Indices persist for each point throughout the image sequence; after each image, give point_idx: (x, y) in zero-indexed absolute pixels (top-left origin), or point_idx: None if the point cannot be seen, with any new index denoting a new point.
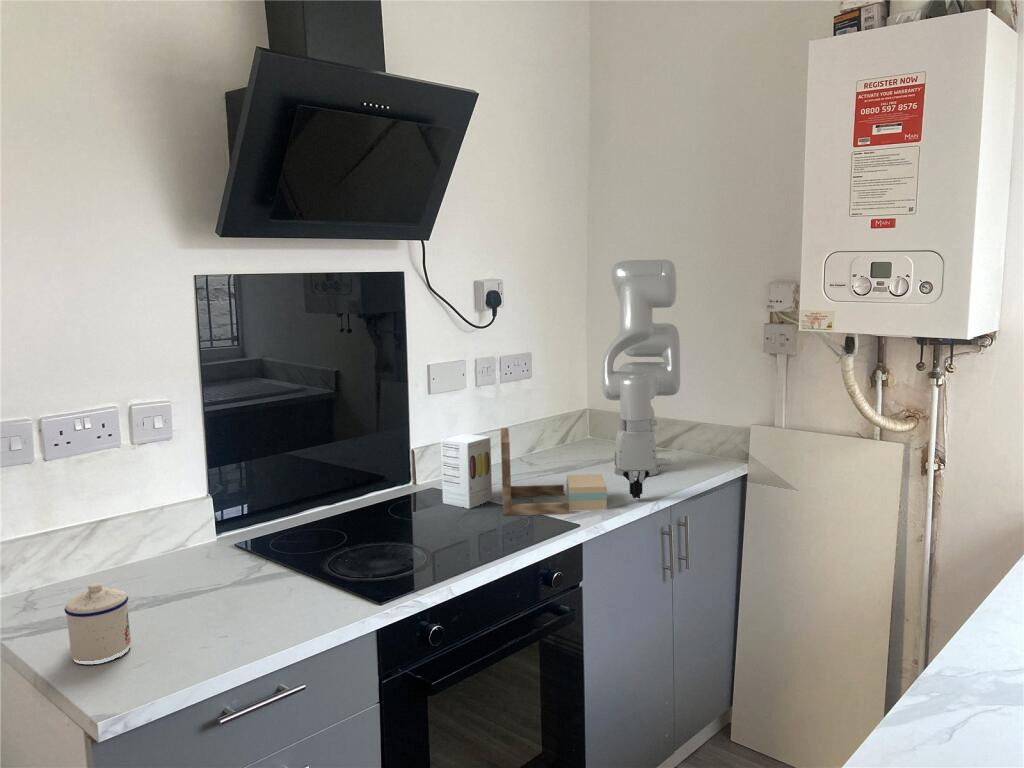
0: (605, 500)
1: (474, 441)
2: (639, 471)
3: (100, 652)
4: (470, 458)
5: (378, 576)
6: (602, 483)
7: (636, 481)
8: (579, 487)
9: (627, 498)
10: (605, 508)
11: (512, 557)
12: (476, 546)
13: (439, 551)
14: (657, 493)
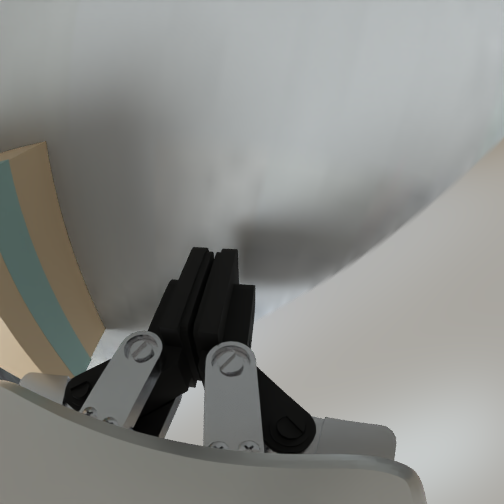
0: (88, 354)
1: None
2: (216, 432)
3: None
4: None
5: None
6: (36, 372)
7: (202, 351)
8: (3, 367)
9: (176, 202)
10: (100, 330)
11: None
12: (18, 382)
13: (3, 376)
14: (410, 122)
